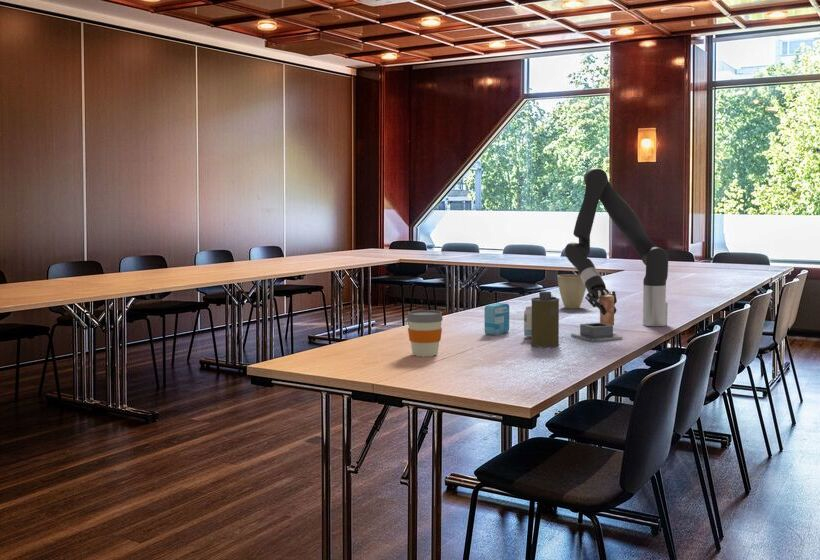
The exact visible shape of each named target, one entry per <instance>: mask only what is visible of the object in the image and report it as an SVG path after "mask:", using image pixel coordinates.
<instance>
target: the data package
mask: <svg viewBox="0 0 820 560" xmlns="http://www.w3.org/2000/svg"><path fill="white" fill-rule="evenodd" d="M509 331H510V305H509V303H505V302H504V303H503V302H497V303H490V304H486V305H485V306H484V334H485V335H486V336H487V335H488V336H499V335H503V334H506V333H509Z"/></svg>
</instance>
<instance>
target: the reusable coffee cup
mask: <svg viewBox="0 0 820 560" xmlns="http://www.w3.org/2000/svg"><path fill="white" fill-rule="evenodd" d="M406 318H407V320H406V322H407V324H408V328H407V332H408V337H409V339H408V340H409V342H410V346H411V353H412V356H414V355H416V356H415V357H419V356H430V357H435V356H434V355H436V356H438V355H437V354H439V347H440V342H441V338H442V330H443V328H442V321H443V313H442V311H439V310H433V309H432V310H431V309H428V310H427V309H426V310H425V309H419V310H411V311H408V312H407V317H406Z"/></svg>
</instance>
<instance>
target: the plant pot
mask: <svg viewBox="0 0 820 560" xmlns="http://www.w3.org/2000/svg"><path fill="white" fill-rule="evenodd" d="M557 284H558V290H559V295H560V297H561V302H562V304H563V306H564V308H565V309H570V308H571V310H572V309H580V307H581V305H582V303H583V300H584V297H585V293H586V291H587V289H586V287H585V285H584V283H583V281H582V278H581V276H580V274H573V273H571V274H558V275H557Z"/></svg>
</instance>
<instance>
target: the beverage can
mask: <svg viewBox="0 0 820 560" xmlns="http://www.w3.org/2000/svg"><path fill="white" fill-rule="evenodd" d="M523 336H525V337H526V339H531V340H532V306H526V307H525V309H524V312H523Z"/></svg>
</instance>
